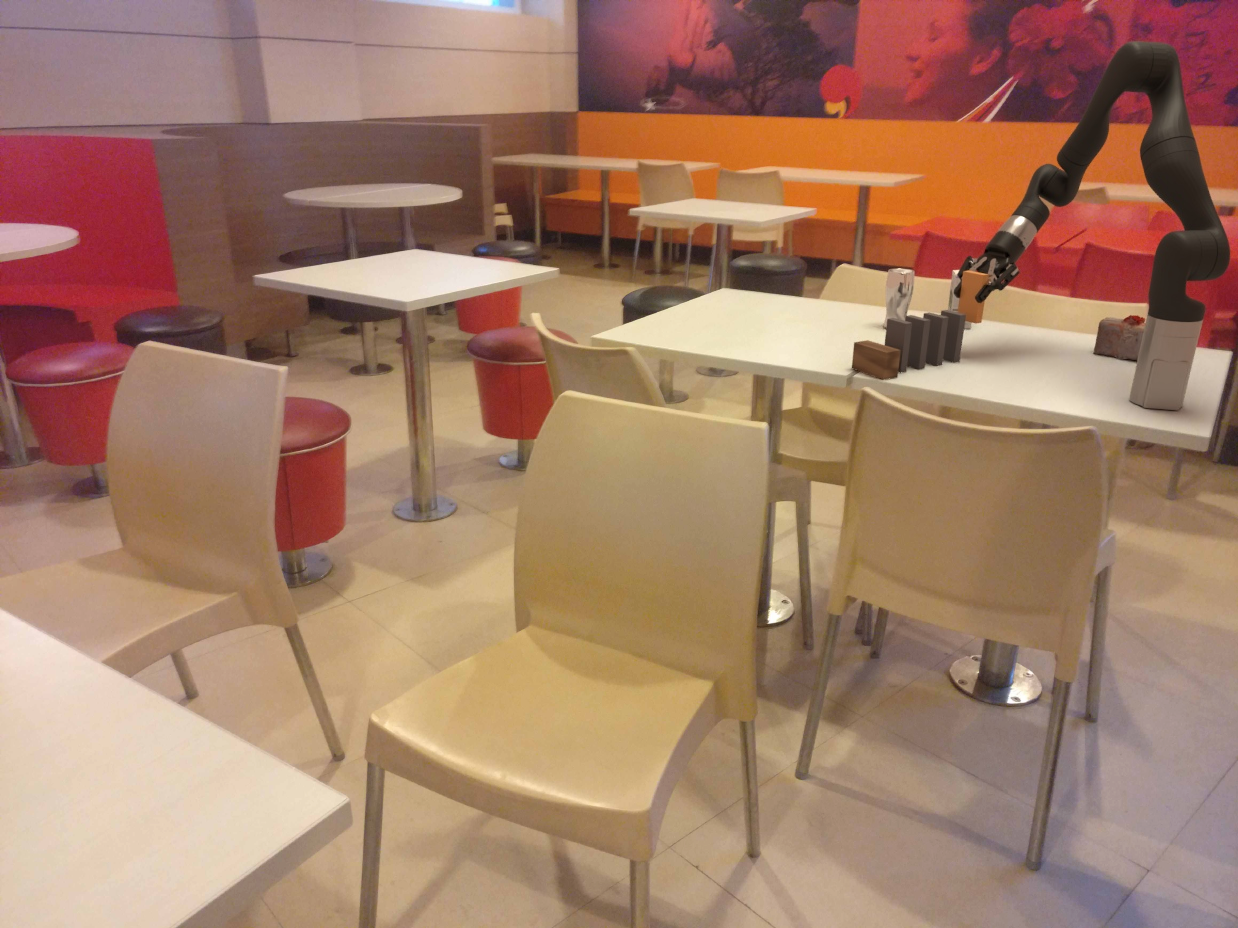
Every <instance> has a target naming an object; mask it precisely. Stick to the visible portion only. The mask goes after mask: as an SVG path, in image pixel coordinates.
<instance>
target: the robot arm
mask: <svg viewBox="0 0 1238 928" xmlns="http://www.w3.org/2000/svg"><path fill="white" fill-rule="evenodd" d="M1112 56H1113V57H1111V60H1110V61H1109V63H1108V64H1107V67H1106V69H1105V70H1104V72H1103V74H1102V77H1101V79H1100V80H1099V83H1098V85H1097V86H1096V88H1095V90H1094V93H1093V95H1092V97H1091V99H1090V101H1089V102H1088V105H1087V108H1086V110H1084V111H1085V112H1084V113H1083V115H1082V116H1081V118H1080V120H1079V122H1078V124H1077V125H1076V127H1075V128H1074V130H1073V131H1072V132H1071V134H1070V135H1069V137H1068V138H1067V139H1066V141H1065V142H1064V144H1062V147H1061V148H1060V150H1059V151H1058V153H1057V155H1056V161H1057V164H1058V166H1059V167H1058V166H1056V165H1055V164H1052V163H1045V164H1043V165H1040V166H1039V167H1037V169H1036V170H1035V171H1034V173H1033V174H1032V176H1031V178H1030V181H1029V184H1028V186H1027V190H1026V191H1025V194H1024V196H1023V198H1022V200H1021V202H1020V203H1019V205H1017V207H1016V209H1015V210H1014V212H1012V213H1011V215H1010V216H1009V218H1008V219H1006V220H1005V222H1004V223H1003V224H1002V225H1001V226H1000V227H999V229H998V230H997V231H996V233H994V235H993V236H992V238H991V239H990V241H989V242H988V243H987V244H986V246H985V248H984V251H983V253H982V254H981V255H980V256H978V257H977V258H976V257H975V258H973V257H972V255H968V256H967V257H966V258H965V260H964V261H963V263H962V265H961V267H960V269H958V270H959V272H958V274H957V276H958V277H959V279H960V283H959V284H958V285H957V287H956V288H955V289H954V295H955V296H956V298H960V293H961V286H962V285H961V284H962V277H963V271H974V272H979V273H984V274H989V276H988V280H987V282H986V284H987V285H984V286H983V287H982V289H980V291H979V292H978V293H977V295H976V296H975V299H976V301H977V302H978V303H982V302H983V301H984V300H985V301H986V300H987V299H988V297H989V296H990V294H992V292H994V291H995V290H998V291H999V292H1000V291H1003V290H1004V289H1006V287H1007V286H1008V285H1009V284H1010V283H1011V282H1012V281H1014V279H1015V278H1017V276H1018V275H1019V274H1020V270H1019V267H1018V266H1017V264H1016V263H1017V262H1018V261H1019V259H1020V258H1021V257H1022V255H1023V254H1024V252H1025V251H1026V250H1027V249H1028V247H1029V246H1030V245H1031V243H1032V242H1033V240H1034V238H1035V236H1036V235H1037V234H1038V232H1039V231H1040V230H1041V229H1042V227H1044V224H1046V222H1047V221H1048V220H1049V217H1050V209H1049V207H1048V206H1047V204H1046V203H1044V202H1043V200H1044V201H1047V202H1048V203H1050V204H1051V205H1053V206H1054V207H1057V208H1062V207H1063V208H1064V207H1066V206H1068V205H1069V204H1071V203H1072V201H1073V200H1075V198H1076V196H1077V194H1078V193H1079V190H1080V186H1081V185H1082V184H1081V183H1082V181H1083V178H1084V175H1085V173H1086V171H1087V169H1088V167H1089V166H1090V165H1091V164H1092V162H1093V161H1094V160H1095V158H1096V156H1097V155H1098V154H1099V152H1100V151H1101V150H1102V149H1103V147H1104V145H1105V144H1106V141H1107V139H1108V136H1109V132H1110V115H1111V110H1112V107H1114V105H1115V102H1117V100H1118V99H1120V97H1121V95H1123V94H1124V93H1125V92H1126V93H1127V92H1128V93H1142V94H1145V95H1146V96H1147V98H1148V100H1149V103H1150V108H1151V109H1150V110H1151V113H1152V114H1151V115H1152V116H1151V120H1150V122H1149V125H1148V127H1147V129H1146V132H1144V133H1145V134H1144V135H1143V137H1142V140H1141V143H1140V148H1139V157H1140V161H1141V164H1142V169H1143V173H1144V177H1145V181H1146V183H1147V184H1148V186H1149V187H1150V189H1151V190H1152V191H1153V193H1154V194H1155V195H1157V197H1158V198H1160V200H1161V201H1162V202H1163V203H1165V205H1167V206H1168V207H1169V209H1171V210H1172V212H1174V214H1175V215H1176V216H1177V217H1178V219H1179V221H1180V223H1181V224H1182V227H1183V229H1184V230H1174V231H1170V232H1168V233H1166V234H1165V235H1164V236H1163V237H1162V238H1161V239H1160V241H1159V243H1158V245H1157V247H1156V249H1155V253H1154V258H1153V263H1152V269H1151V277H1150V282H1149V288H1148V296H1147V297H1148V311H1147V314H1146V316H1147V317H1146V319H1145V323H1146V324H1145V328H1144V333H1143V337H1142V342H1141V346H1140V351H1139V355H1138V360H1137V361H1136V365H1135V370H1134V374H1133V379H1132V385H1131V389H1130V393H1129V398H1128V399H1129V401H1130V402H1131V403H1133V404H1135V405H1138V406H1141V407H1142V408H1144V409H1154V410H1155V409H1156V410H1169V411H1179V410H1180V408H1182V407H1183V405H1184V400H1185V396H1186V392H1187V389H1188V383H1189V379H1190V376H1191V371H1192V367H1193V362H1194V358H1195V355H1196V350H1197V346H1198V342H1199V338H1200V333H1201V329H1202V326H1203V323H1204V319H1205V316H1206V315H1205V314H1206V308H1207V307H1206V305H1205V303H1203V302H1202V301H1200V300H1197V299H1194V298H1192V297H1190V296H1189V295H1187V293H1186V292H1187V283H1188V282H1202V281H1206V282H1208V281H1214V280H1216V279H1219V278H1220V277H1222V276H1223V275H1224V274H1225V272H1226V271H1227V269H1228V267H1229V265H1230V261H1231V247H1230V241H1229V238H1228V236H1227V233H1226V231H1225V228H1224V225H1223V223H1222V220H1221V218H1220V216H1219V213H1218V212H1217V209H1216V207H1215V204H1214V201H1213V198H1212V196H1211V193H1210V189H1209V187H1208V183H1207V180H1206V176H1205V174H1204V170H1203V166H1202V162H1201V156H1200V152H1199V149H1198V145H1197V141H1196V138H1195V135H1194V132H1193V128H1192V126H1191V122H1190V121H1191V120H1190V118H1189V117H1190V116H1189V112H1188V109H1187V104H1186V100H1185V93H1184V86H1183V80H1182V70H1181V63H1180V58H1179V55H1178V53H1177V50H1176V48H1174V46H1173V45H1171V44H1169V43H1166V42H1156V41H1142V40H1135V41H1134V40H1132V41H1128V42H1126V43H1123V44H1122V45H1121V46H1120V47H1119V48H1118V50H1117V51H1116V52H1115V53H1114V55H1112ZM1042 199H1043V200H1042Z"/></svg>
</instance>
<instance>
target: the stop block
mask: <svg viewBox="0 0 1238 928" xmlns="http://www.w3.org/2000/svg"><path fill="white" fill-rule="evenodd" d="M900 351H901V350H898V349H895V348H892V347H888V346H885V344H882V343H879V342H875V341H872V340H870V339H869V340H868V339H867V340H860V341H854V342H853V351H852V360H851V361H852V362H851V369H852V368H854V369H857V370H858V371H857V370H856V371H857V372H860V371H861V373H863V372H864V373H863V374H866V375H869V376H872V377H874V376H875V378H876V379H877V378H878V379H880V378H881V379H880V380H883V379H885V380H890V379H894V377H896V378H898V374H899V372H898V368H899V360H900ZM854 369H853V370H854ZM889 378H890V379H889Z"/></svg>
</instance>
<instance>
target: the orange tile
mask: <svg viewBox="0 0 1238 928" xmlns="http://www.w3.org/2000/svg"><path fill="white" fill-rule="evenodd" d="M988 276H989V274H984V273H979V272H977V271H976V272H974V271H963V277H962V284H961V285H962V286H961V293H960V298H959V306H958V313H962V314H966V319H965V321H968V322H971V323H972V324H975V325H976V324H981V323H982V322H983V321H982V320H983V317H984V316H983V314H984V308H985V302H986V300H984V301H983V302H982V303H978V302H977V301H976V299H975V296H976V295H977V293H978V292H979V291H980V289H982V287H983V286H984V285H987V284H986V282H987V280H988Z"/></svg>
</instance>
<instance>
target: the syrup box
mask: <svg viewBox="0 0 1238 928" xmlns="http://www.w3.org/2000/svg"><path fill="white" fill-rule="evenodd" d="M959 270H960V269H953V270H952V273H951V281H950V289H949V297H948V306H947V310H950V311H954V312H958V306H959V298H956V296H955V295H954V289H955V288H956V287H957V285H958V284H959V283H960V279H959V277H958V276H957V274H958V272H959ZM972 324H973V323H971V322H968V321H965V326H964V330H971V328H972Z"/></svg>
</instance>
